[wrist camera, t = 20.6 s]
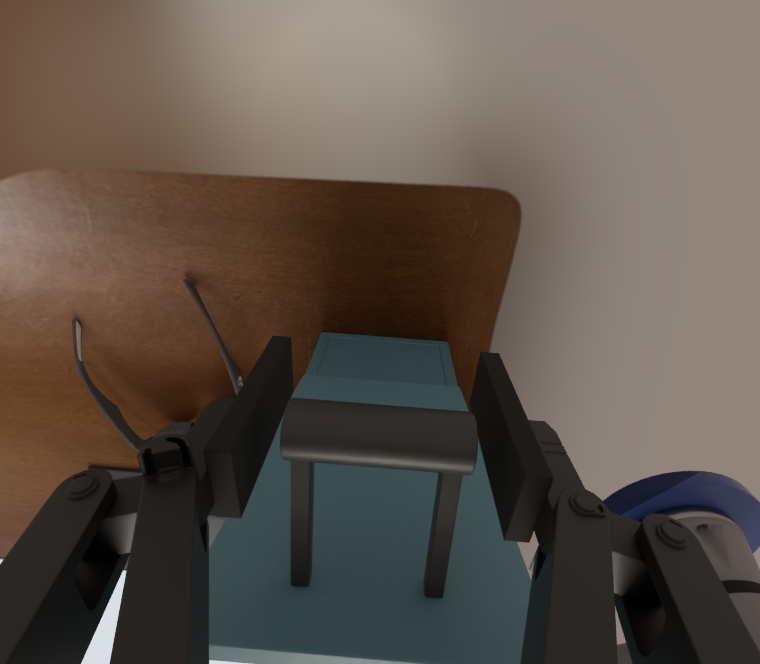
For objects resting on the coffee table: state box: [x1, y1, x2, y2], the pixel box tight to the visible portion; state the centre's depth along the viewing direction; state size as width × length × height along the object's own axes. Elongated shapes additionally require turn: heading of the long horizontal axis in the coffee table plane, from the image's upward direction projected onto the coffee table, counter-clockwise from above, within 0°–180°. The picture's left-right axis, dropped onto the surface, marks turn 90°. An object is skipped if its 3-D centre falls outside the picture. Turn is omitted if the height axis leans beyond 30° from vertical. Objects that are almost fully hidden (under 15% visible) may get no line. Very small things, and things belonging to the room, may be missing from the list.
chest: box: [305, 332, 458, 387], centre depth 41 cm, size 20×13×8 cm, turn 176°
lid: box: [209, 375, 531, 664], centre depth 21 cm, size 21×13×8 cm
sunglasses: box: [72, 279, 243, 452], centre depth 41 cm, size 16×17×5 cm
